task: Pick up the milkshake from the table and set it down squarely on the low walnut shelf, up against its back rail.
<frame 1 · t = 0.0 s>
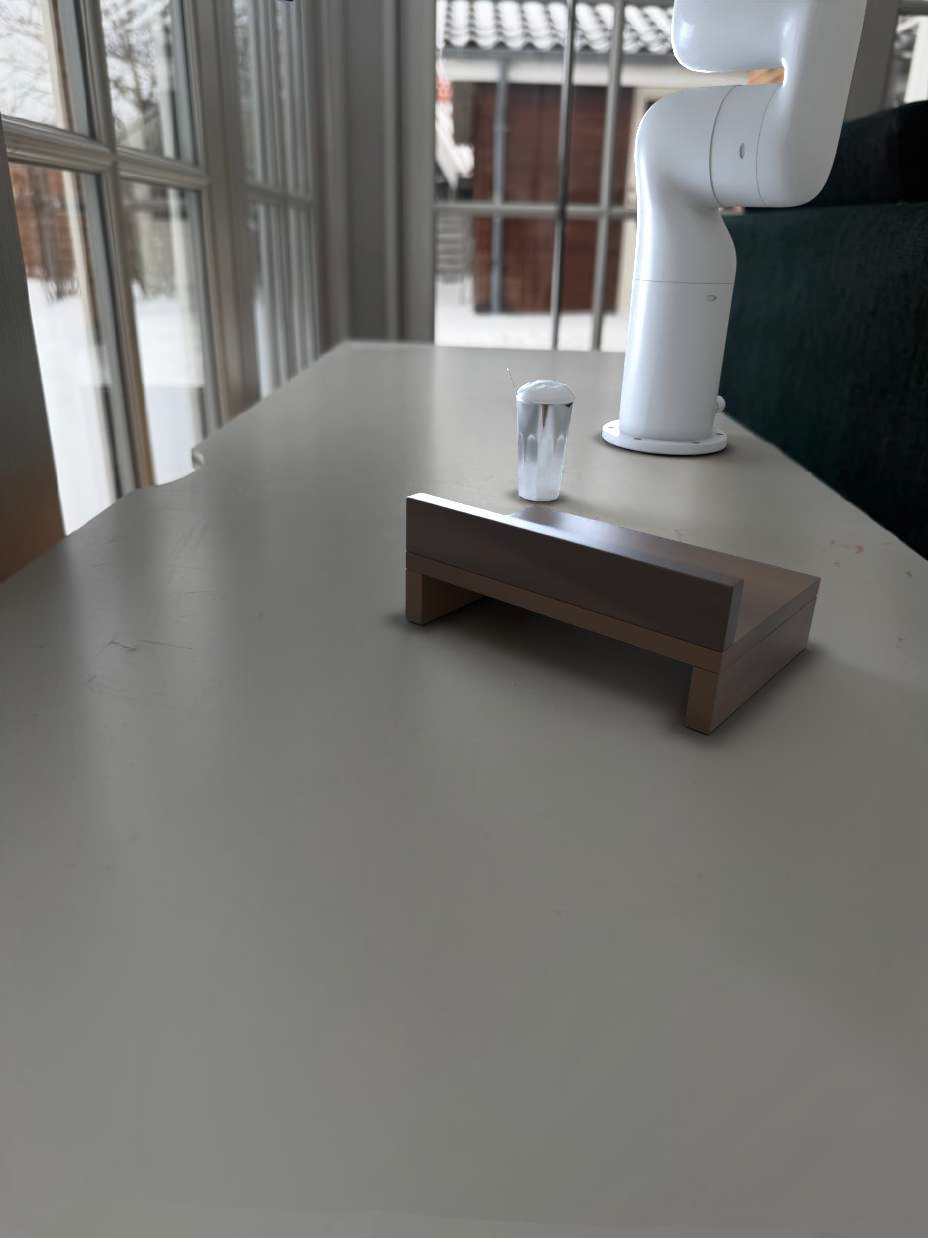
shelf: (602, 633, 48), on the table
milkshake: (533, 498, 72), on the table
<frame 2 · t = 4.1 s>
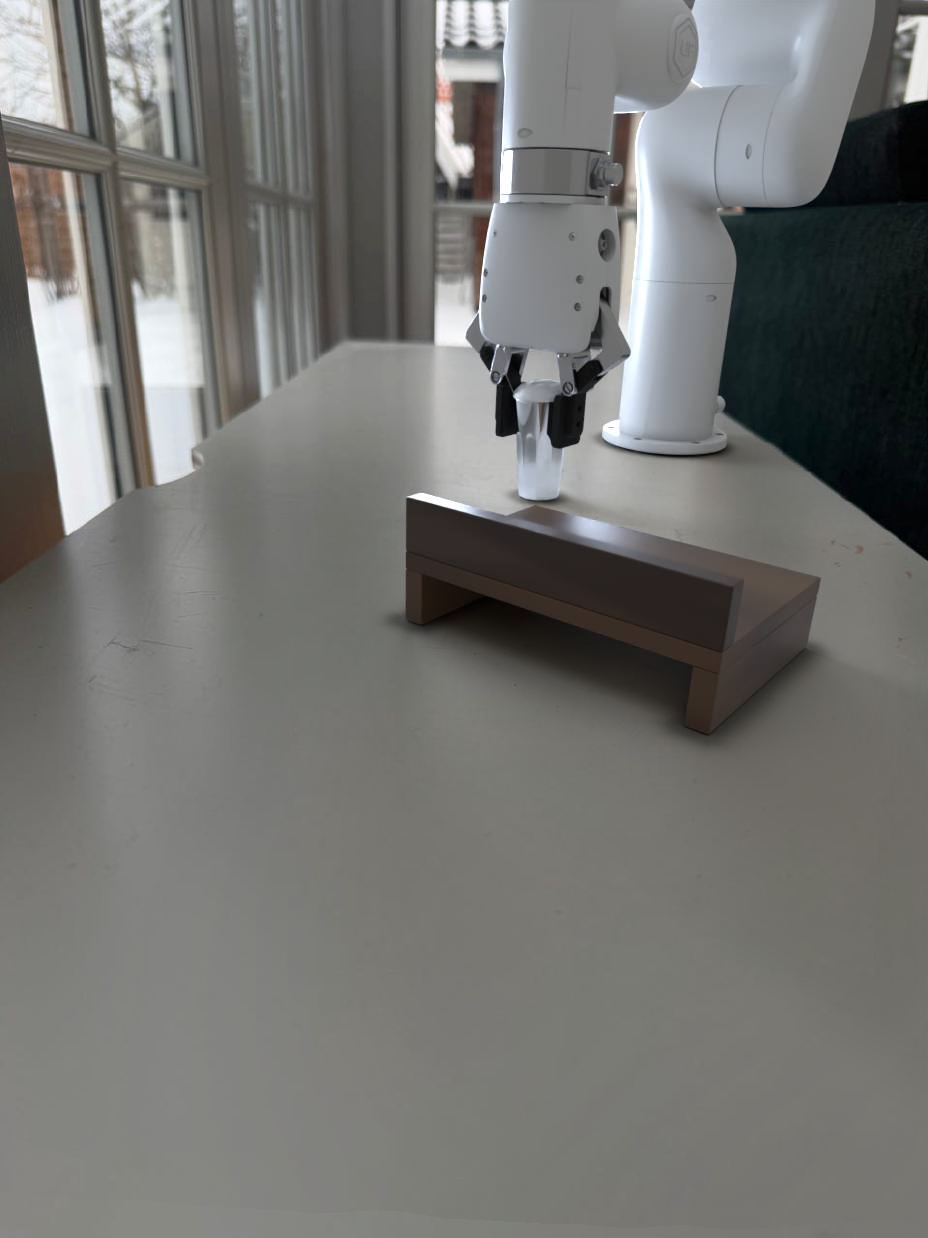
hand: (537, 437, 70), 5 cm above the table, tool pointing down, fingers closed on milkshake, 4 cm apart
milkshake: (533, 497, 72), on the table, touching gripper
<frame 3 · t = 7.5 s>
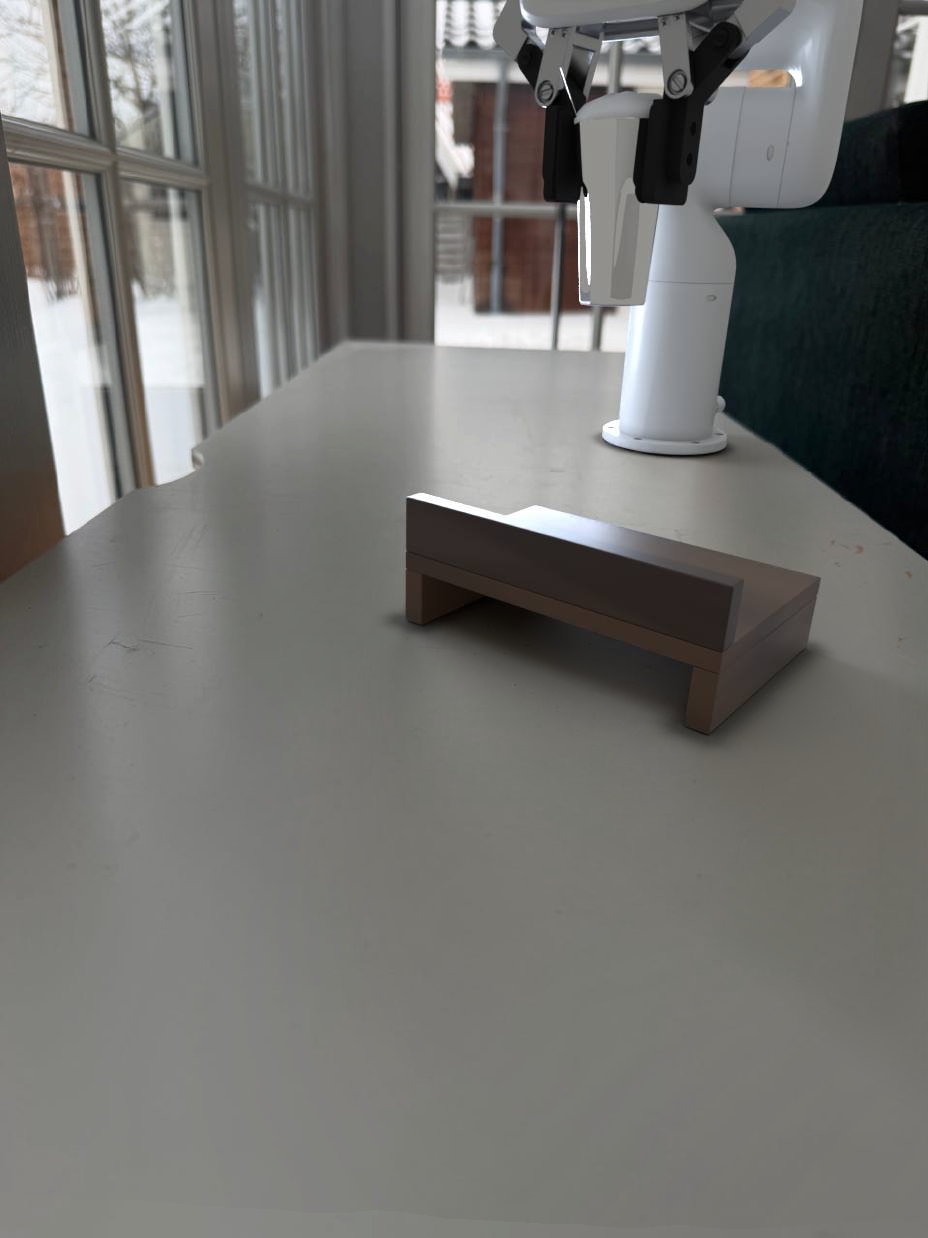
hand: (613, 198, 42), 21 cm above the table, tool pointing down, fingers closed on milkshake, 4 cm apart
milkshake: (604, 308, 44), point 16 cm above the table, touching gripper
when the fingers open (9 cm above the table, at t = 11.0 s): milkshake stays where it is, resting on shelf.
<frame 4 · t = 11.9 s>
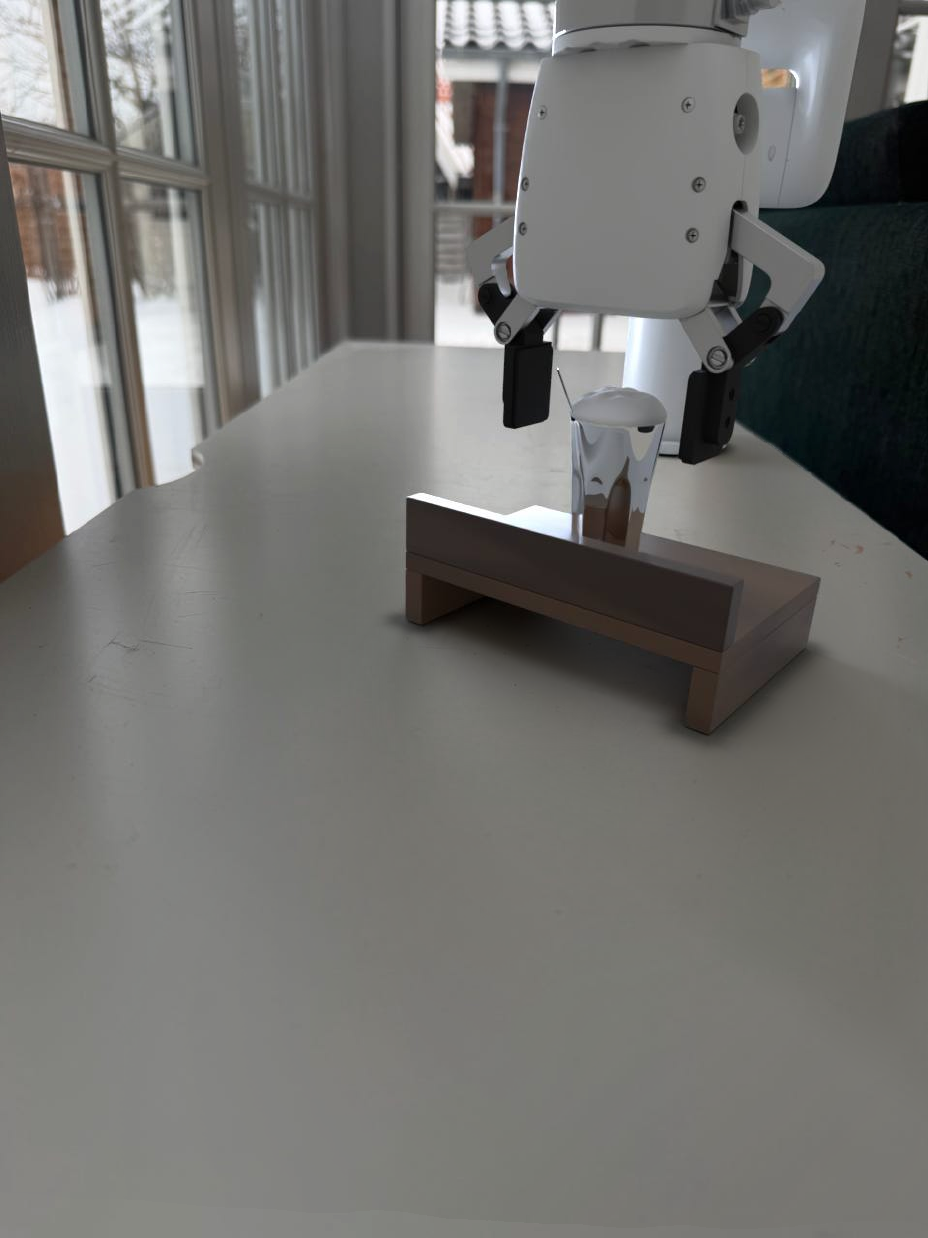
hand: (607, 440, 42), 11 cm above the table, tool pointing down, fingers open, 9 cm apart
milkshake: (594, 574, 45), point 4 cm above the table, touching shelf
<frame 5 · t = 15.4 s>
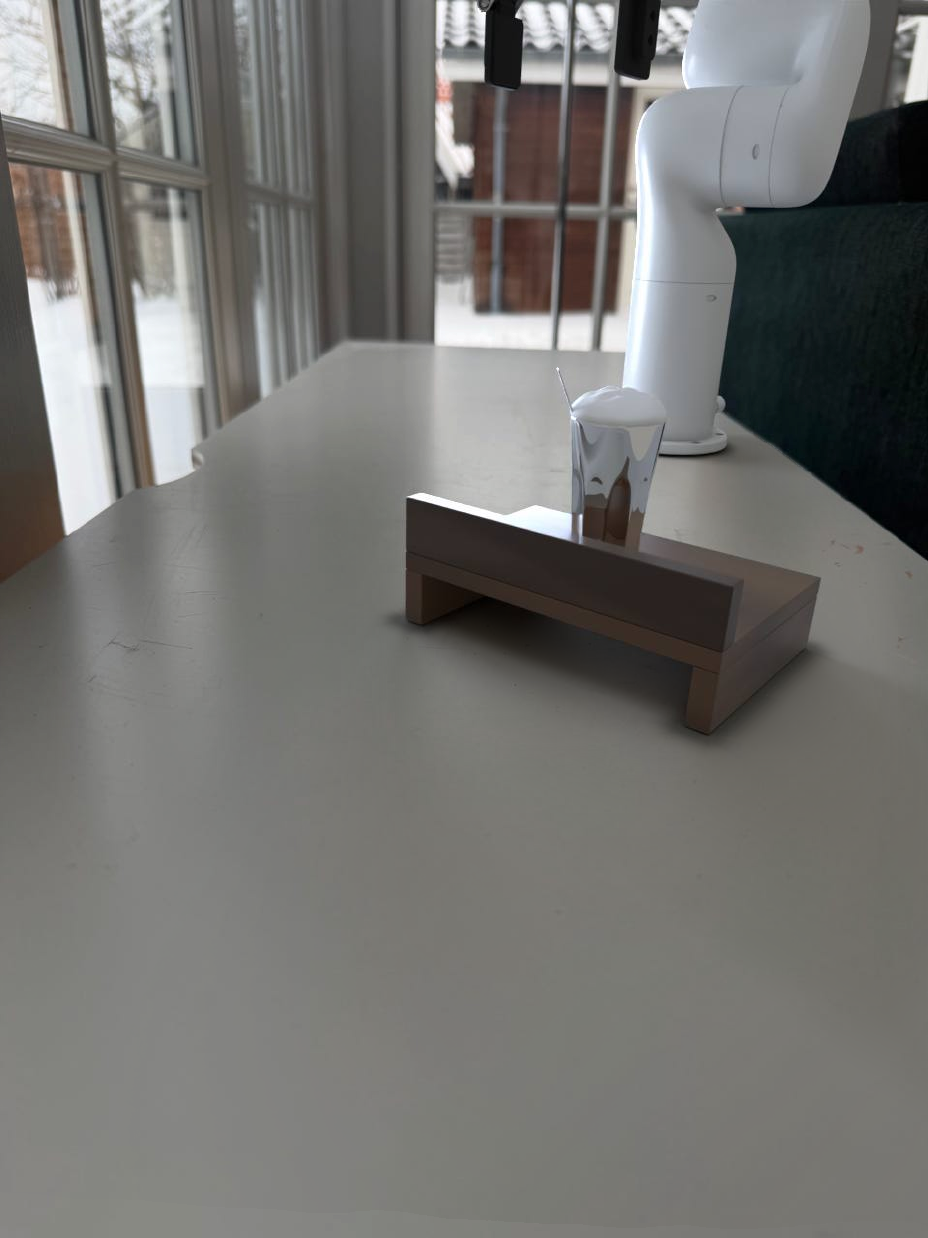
hand: (563, 82, 55), 28 cm above the table, tool pointing down, fingers open, 9 cm apart
nothing on the table moved.
at the end: milkshake inside the target area on the shelf (1.1 cm from its centre), point 3.8 cm above the shelf's base; milkshake tilted 0°; the gripper is holding nothing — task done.
